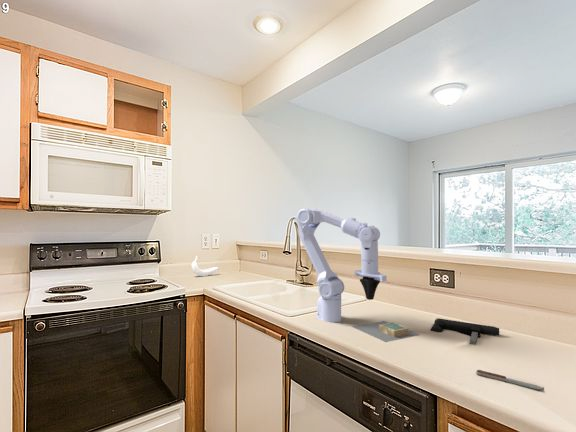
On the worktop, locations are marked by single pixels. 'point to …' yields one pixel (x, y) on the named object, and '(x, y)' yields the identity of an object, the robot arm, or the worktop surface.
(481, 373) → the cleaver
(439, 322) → the black toy gun
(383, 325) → the wooden block
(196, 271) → the banana
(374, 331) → the mat
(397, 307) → the worktop surface
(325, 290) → the robot arm
